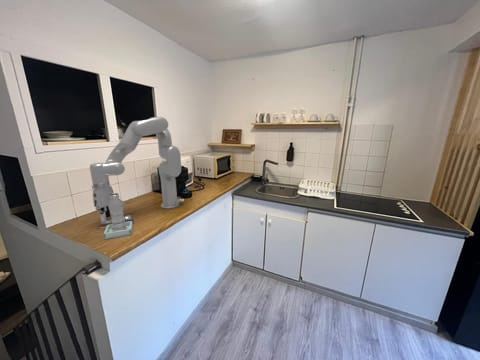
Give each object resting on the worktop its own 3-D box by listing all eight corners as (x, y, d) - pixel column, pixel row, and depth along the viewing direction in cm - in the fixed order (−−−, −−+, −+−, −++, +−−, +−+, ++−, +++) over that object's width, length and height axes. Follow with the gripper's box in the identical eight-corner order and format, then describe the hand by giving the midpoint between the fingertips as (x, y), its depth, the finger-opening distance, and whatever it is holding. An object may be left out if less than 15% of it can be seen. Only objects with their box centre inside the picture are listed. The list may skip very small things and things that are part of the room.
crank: (131, 217, 115) (129, 205, 114) (131, 221, 111) (129, 208, 110) (102, 222, 110) (100, 209, 108) (100, 225, 106) (98, 212, 104)
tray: (132, 225, 111) (132, 221, 110) (131, 234, 101) (130, 229, 100) (108, 230, 106) (107, 224, 105) (104, 239, 97) (103, 234, 96)
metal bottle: (116, 227, 107) (110, 192, 102) (129, 227, 107) (124, 192, 102) (109, 234, 100) (103, 196, 96) (123, 233, 101) (117, 196, 96)
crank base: (134, 220, 117) (133, 217, 117) (133, 225, 112) (133, 221, 111) (101, 225, 111) (101, 222, 110) (99, 230, 105) (98, 227, 105)
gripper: (94, 190, 100) (100, 223, 105) (118, 182, 114) (123, 212, 119) (82, 189, 102) (89, 221, 106) (107, 182, 116) (112, 211, 120)
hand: (107, 216), depth 113 cm, fingers closed
